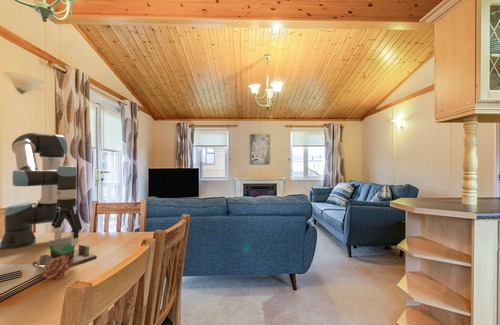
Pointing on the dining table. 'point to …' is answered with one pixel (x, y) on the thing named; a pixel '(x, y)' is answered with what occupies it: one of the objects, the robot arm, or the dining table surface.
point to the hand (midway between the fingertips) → (66, 243)
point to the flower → (56, 267)
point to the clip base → (77, 259)
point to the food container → (61, 248)
